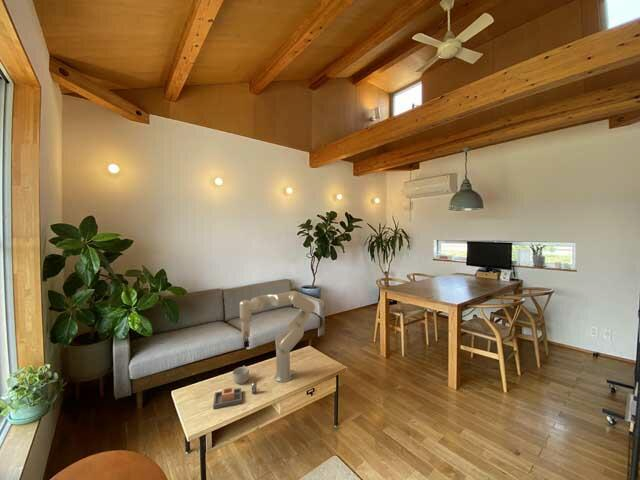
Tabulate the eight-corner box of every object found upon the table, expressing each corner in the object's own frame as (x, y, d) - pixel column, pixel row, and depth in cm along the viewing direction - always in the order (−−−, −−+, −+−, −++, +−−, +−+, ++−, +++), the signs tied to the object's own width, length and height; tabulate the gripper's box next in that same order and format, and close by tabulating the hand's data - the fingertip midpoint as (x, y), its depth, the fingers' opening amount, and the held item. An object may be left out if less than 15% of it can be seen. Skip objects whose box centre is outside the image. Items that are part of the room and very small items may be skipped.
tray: (241, 391, 173) (241, 387, 173) (241, 403, 161) (241, 399, 161) (214, 396, 169) (214, 392, 169) (213, 409, 156) (213, 405, 156)
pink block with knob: (222, 396, 167) (222, 388, 167) (234, 394, 169) (233, 386, 169) (221, 403, 161) (221, 395, 161) (234, 400, 163) (233, 392, 163)
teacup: (244, 386, 179) (244, 375, 178) (229, 385, 181) (229, 373, 181) (253, 375, 192) (253, 364, 192) (240, 374, 195) (239, 363, 194)
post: (256, 391, 174) (256, 381, 173) (256, 393, 171) (256, 383, 170) (251, 392, 173) (251, 382, 172) (252, 394, 170) (251, 384, 170)
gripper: (239, 315, 186) (240, 340, 186) (240, 323, 169) (240, 350, 170) (250, 314, 188) (251, 338, 189) (252, 322, 172) (252, 348, 172)
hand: (246, 344), depth 179 cm, fingers open, 9 cm apart
